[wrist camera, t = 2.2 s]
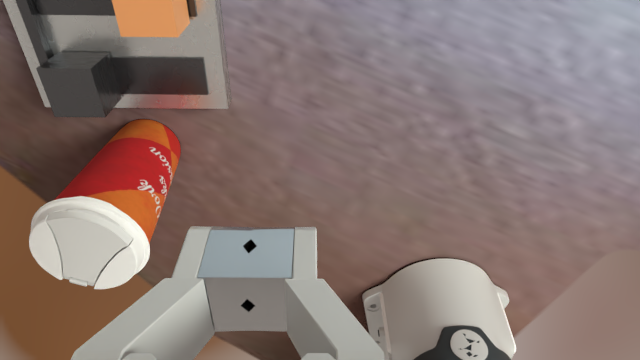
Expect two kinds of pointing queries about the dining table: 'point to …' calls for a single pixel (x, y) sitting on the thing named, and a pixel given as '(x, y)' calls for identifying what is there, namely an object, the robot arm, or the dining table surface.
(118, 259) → the coffee cup
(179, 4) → the orange cube
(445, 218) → the dining table surface
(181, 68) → the plate
